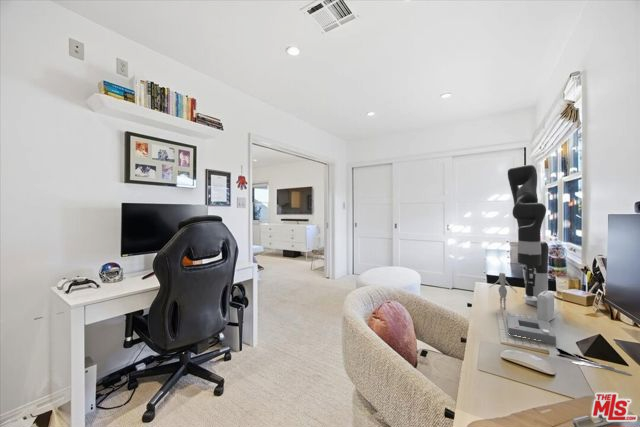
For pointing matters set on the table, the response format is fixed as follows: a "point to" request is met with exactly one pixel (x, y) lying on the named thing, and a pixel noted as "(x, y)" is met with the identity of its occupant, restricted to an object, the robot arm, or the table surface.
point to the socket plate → (531, 329)
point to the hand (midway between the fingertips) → (529, 294)
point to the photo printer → (545, 306)
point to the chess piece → (529, 297)
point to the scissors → (587, 361)
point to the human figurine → (502, 288)
